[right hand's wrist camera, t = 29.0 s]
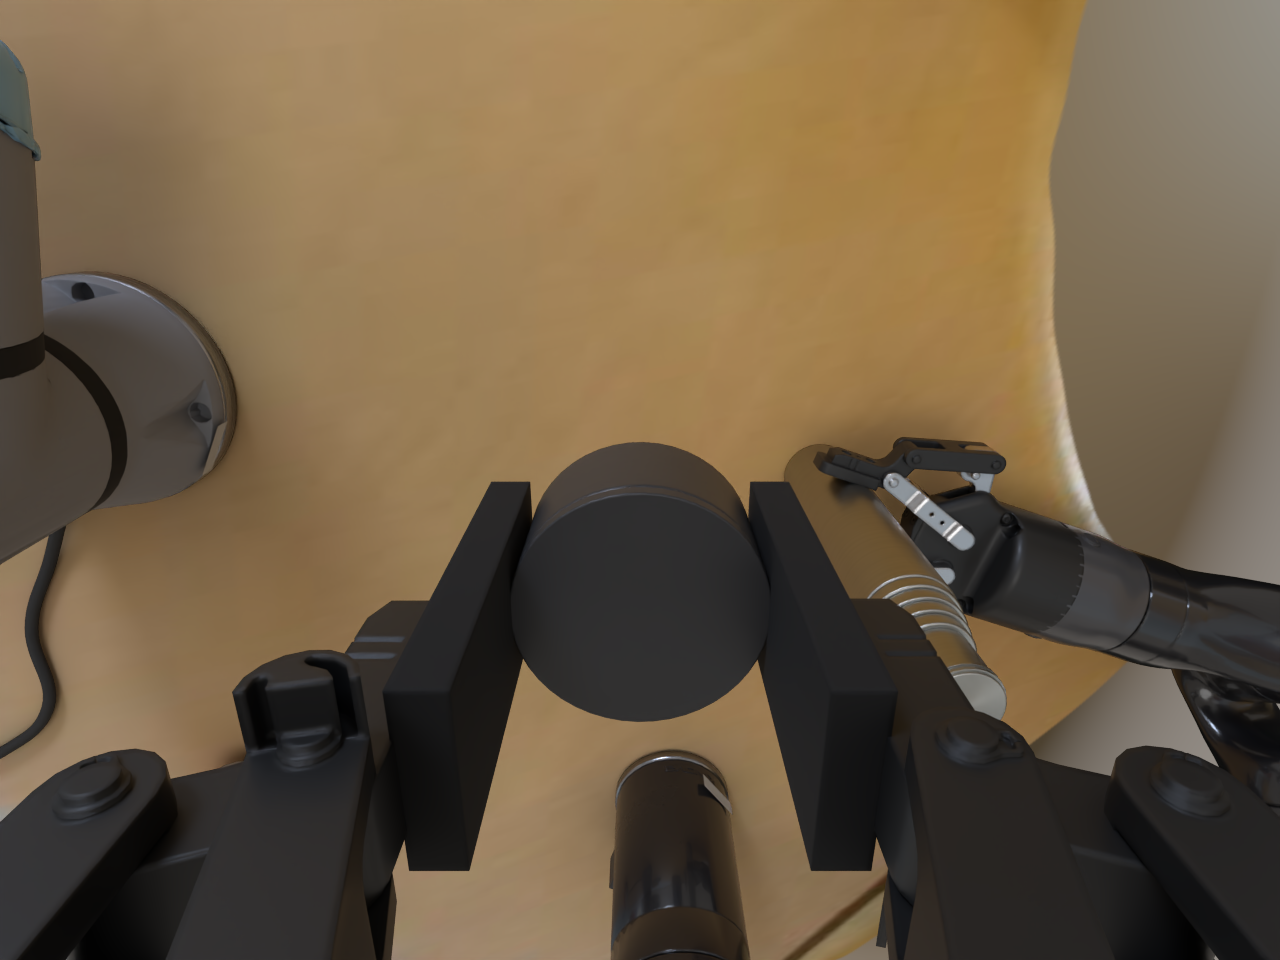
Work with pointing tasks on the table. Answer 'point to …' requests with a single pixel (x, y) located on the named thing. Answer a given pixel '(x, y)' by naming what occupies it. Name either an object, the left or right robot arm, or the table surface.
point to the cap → (640, 585)
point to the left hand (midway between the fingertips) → (801, 499)
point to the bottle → (891, 571)
